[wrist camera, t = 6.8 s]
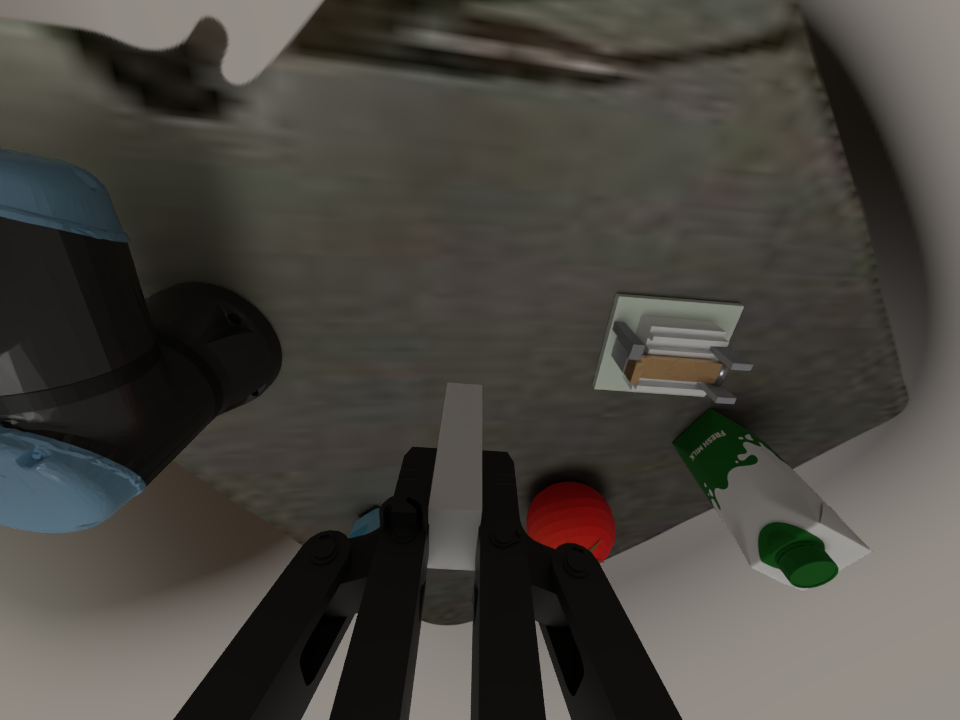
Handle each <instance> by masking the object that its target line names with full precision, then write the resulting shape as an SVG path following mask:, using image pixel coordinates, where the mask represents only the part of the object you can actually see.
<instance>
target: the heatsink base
mask: <svg viewBox="0 0 960 720" xmlns="http://www.w3.org/2000/svg"><path fill="white" fill-rule="evenodd" d="M743 308H744V306H743V305H741V304H739V303H730V302H717V301H705V300H692V299H679V298H667V297H654V296H642V295H629V294H617V293H616V296H615V300H614V304H613V308H612V311H611V315H610V319H609V323H608V327H607V330H606V334H605V338H604V342H603V346H602V349H601V353H600V357H599V361H598V365H597V368H596V372H595V376H594V380H593V384H592V385H593V387H594V389H601V390H615V391H630V392H644V393H658V394H672V395H686V396H700V397H705V395H706V394H707V395H708V396H709V397H710V398H711V399H712V400H713V401H714V402H715V403H725V404H734V403H735V401H736V399H737V398H736V397H735V396H733V395H732V394H731V393H730V392H729V391H728V390H727V389H726V388H725V387H724V386H723V385H722V386H714V385H712V384H710V383H699V382H686V381H672V380H658V379H645V378H639V381H638V384H635V383H630V382H629V381H628V379H627V378H626V376H625V375H624V371H625V367H626V364H627V361H628V359H632V360H640V359H641V356H642V355H653V356H667V357H680V358H693V359H707V360H720V361H721V362H722V363H724V364H725V365H726V366H727V367H728V368H729V369H731V370H745V371H751V369H752V367H753V364H752V363H750V362H749V361H748V360H746V359H745V358H744V357H742V356H741V355H740V354H738V353H737V352H736V351H734V350H733V349H732V348H731V347H729V346H728V344H729V340H730V338H731V335H732V333H733V331H734V329H735V326H736V324H737V322H738V319H739V317H740V315H741V313H742V310H743Z"/></svg>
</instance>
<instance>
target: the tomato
mask: <svg viewBox="0 0 960 720" xmlns="http://www.w3.org/2000/svg"><path fill="white" fill-rule="evenodd" d="M526 524H527V534H528V536H529V537H531V538H532V539H533V540H535V541H537V542H539V543H541V544H543V545H546V546H549V547H551V548H554V549H556V548H557V547H558V546H559V545H562V544H564V543H576V544H578V545H581V546H584V547H585V548H586V549H588V550H589V551H590V552H592V554H593V555H594V556H595V558H596V559H597V560H598V562H599V564H600V563H601V562H603V560H604V559H605V558H606V557H607V556H608V555H609V553H610V551H611V549H612V546H613V544H614V542H615V521H614V518H613V515H612V511H611V509H610V507H609V505H608V503H607V502H606V500H605V499H604V497H603V496H602V495H600V494H599V493H598V492H597V491H596V490H595V489H593V488H591V487H589V486H587V485H585V484H582V483H579V482H560V483H556V484H553V485H551V486H549V487H547V488H545V489H544V490H542V491H541V492H540V493H538V494H537V495H536V496H535V497H534V499H533V501H532V503H531V504H530V506H529V510H528V514H527V523H526Z"/></svg>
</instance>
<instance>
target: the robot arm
mask: <svg viewBox="0 0 960 720" xmlns="http://www.w3.org/2000/svg"><path fill="white" fill-rule="evenodd" d="M128 242H130V239H129V237H128V235H127V234H126V233H124V231H123V229H122V227H121V224H120V222H119V219H118V217H117V214H116V212H115V209H114V206H113V204H112V201H111V198H110V195H109V193H108V191H107V189H106V188H105V186H104V185H103V184H102V183H101V181H100V180H99V179H97V178H96V177H95V176H94V175H92V174H91V173H90V172H88V171H86V170H85V169H83V168H81V167H79V166H76V165H74V164H71V163H68V162H64V161H60V160H56V159H51V158H47V157H42V156H37V155H32V154H27V153H21V152H16V151H10V150H5V149H0V525H2V526H6V527H11V528H15V529H20V530H26V531H33V532H42V533H67V532H75V531H80V530H84V529H87V528H90V527H93V526H96V525H98V524H100V523H101V522H103V521H105V520H106V519H108V518H109V517H110V516H112V515H113V514H114V513H115V512H116V511H117V510H118V509H119V508H121V507H122V506H123V505H124V504H125V503H127V501H129V500H130V499H131V498H132V497H134V496H137V495H138V494H140V493H141V492H142V491H143V490H144V489H145V488H146V486H147V485H148V484H149V483H150V482H151V481H152V480H153V479H154V478H155V477H156V476H157V475H158V474H159V473H160V472H161V471H162V470H163V469H164V468H165V467H166V466H167V465H168V464H169V463H170V462H171V461H172V460H173V459H174V458H175V457H176V456H177V455H178V454H179V453H180V452H181V451H182V450H183V449H184V448H185V447H186V446H187V445H188V444H189V443H190V442H191V441H192V440H193V439H194V438H195V437H196V436H197V435H198V434H199V433H200V432H201V431H202V430H203V429H204V428H205V427H206V426H207V425H208V424H209V423H210V422H211V421H212V420H213V419H214V418H215V417H216V416H218V415H221V414H223V413H225V412H228V411H230V410H232V409H234V408H237V407H239V406H241V405H244V404H246V403H248V402H250V401H252V400H254V399H256V398H257V397H259V396H260V395H261V394H262V393H263V392H264V391H265V390H266V389H267V388H268V387H269V386H270V385H271V384H272V383H273V382H274V380H275V379H276V377H277V375H278V373H279V370H280V367H281V350H280V345H279V342H278V339H277V337H276V335H275V333H274V331H273V329H272V327H271V326H270V324H269V323H268V322H267V320H266V319H265V318H264V317H263V315H262V314H261V313H260V312H259V311H258V310H257V309H256V308H255V307H253V306H252V305H251V304H250V303H248V302H247V301H246V300H244V299H243V298H241V297H240V296H238V295H236V294H234V293H232V292H230V291H228V290H226V289H223V288H221V287H217V286H214V285H210V284H205V283H182V284H177V285H174V286H171V287H169V288H166V289H164V290H162V291H159V292H157V293H155V294H153V295H152V296H150V297H149V298H147V299H146V300H145V299H144V296H143V293H142V289H141V286H140V283H139V279H138V276H137V273H136V269H135V266H134V262H133V259H132V256H131V252H130V249H129V246H128ZM379 519H380V527H379V528H378V529H376V530H374V531H372V532H370V533H367V534H364V535H361V536H356V537H352V538H347V536H346V535H345V534H343V533H341V532H339V531H332V530H329V531H324V532H320V533H318V534H316V535H315V536H313V537H311V538H310V539H309V540H308V541H307V542H306V543H305V544H304V545H303V546H302V547H301V548H300V550H299V551H298V553H297V554H296V555H295V557H294V558H293V559H292V561H291V562H290V563H289V565H288V566H287V567H286V569H285V570H284V571H283V573H282V574H281V575H280V577H279V578H278V579H277V581H276V582H275V583H274V585H273V586H272V587H271V589H270V590H269V592H268V593H267V595H266V596H265V597H264V598H263V600H262V601H261V602H260V604H259V605H258V606H257V608H256V609H255V610H254V612H253V613H252V614H251V616H250V617H249V618H248V620H247V621H246V623H245V624H244V625H243V626H242V628H241V629H240V630H239V632H238V633H237V635H236V636H235V637H234V639H233V640H232V641H231V643H230V644H229V645H228V647H227V648H226V649H225V651H224V652H223V653H222V655H221V656H220V657H219V659H218V660H217V661H216V663H215V664H214V666H213V667H212V668H211V669H210V671H209V672H208V674H207V675H206V677H205V678H204V679H203V680H202V682H201V683H200V684H199V686H198V687H197V688H196V690H195V691H194V692H193V694H192V695H191V697H190V698H189V699H188V701H187V702H186V703H185V705H184V706H183V707H182V709H181V710H180V711H179V713H178V714H177V715H176V717H175V718H174V719H173V720H301V718H302V717H303V715H304V713H305V711H306V709H307V707H308V705H309V703H310V701H311V699H312V697H313V695H314V693H315V691H316V689H317V687H318V685H319V683H320V681H321V679H322V677H323V676H324V674H325V672H326V670H327V668H328V666H329V664H330V662H331V660H332V658H333V656H334V654H335V652H336V650H337V648H338V646H339V644H340V642H341V640H342V638H343V636H344V634H345V632H346V631H347V629H348V627H349V624H350V623H351V621H352V619H353V617H354V615H355V614H356V613H358V616H357V619H356V623H355V626H354V630H353V634H352V637H351V641H350V645H349V649H348V652H347V656H346V660H345V663H344V667H343V671H342V674H341V678H340V682H339V685H338V689H337V693H336V696H335V700H334V704H333V708H332V711H331V715H330V719H329V720H409V713H410V705H411V698H412V690H413V682H414V674H415V666H416V659H417V651H418V643H419V635H420V628H421V620H422V612H423V604H424V597H425V589H426V573H427V568H437V569H456V570H475V582H474V590H473V598H472V604H473V636H472V640H473V641H472V683H471V720H546V715H545V707H544V698H543V689H542V681H541V671H540V662H539V653H538V644H537V635H536V626H535V620H536V621H538V622H539V625H540V628H541V631H542V634H543V637H544V640H545V643H546V646H547V649H548V651H549V655H550V657H551V661H552V663H553V666H554V669H555V672H556V675H557V678H558V681H559V684H560V687H561V690H562V693H563V696H564V699H565V702H566V705H567V708H568V711H569V714H570V717H571V720H682V718H681V716H680V714H679V712H678V711H677V709H676V707H675V705H674V703H673V701H672V699H671V697H670V695H669V694H668V692H667V690H666V688H665V686H664V685H663V683H662V680H661V679H660V677H659V675H658V673H657V671H656V669H655V667H654V665H653V664H652V662H651V660H650V658H649V656H648V654H647V653H646V650H645V649H644V647H643V645H642V643H641V641H640V639H639V637H638V635H637V633H636V632H635V630H634V628H633V626H632V624H631V622H630V620H629V618H628V617H627V615H626V613H625V611H624V609H623V607H622V605H621V604H620V602H619V600H618V598H617V596H616V594H615V592H614V590H613V589H612V587H611V585H610V583H609V581H608V579H607V577H606V575H605V573H604V571H603V570H602V568H601V566H600V564H599V562H598V560H597V559H596V558H595V556H594V555H593V554H592V552H590V551H589V550H588V549H586V548H585V547H584V546H581V545H578V544H576V543H564V544H562V545H559V546H558V547H557V548H556V549H554V548H551V547H549V546H546V545H543V544H541V543H539V542H537V541H535V540H533V539H532V538H531V537H529V536H528V534H527V533H526V532H525V531H524V529H523V527H522V526H521V522H520V516H519V507H518V497H517V488H516V478H515V469H514V462H513V460H512V459H511V457H510V456H509V454H508V452H499V451H484V450H482V385H473V384H459V383H447V390H446V396H445V403H444V409H443V416H442V422H441V429H440V435H439V442H438V448H424V447H412V448H411V449H410V450H409V451H408V452H407V454H406V455H405V456H404V459H403V463H402V466H401V470H400V474H399V479H398V482H397V485H396V489H395V493H394V496H393V497H390V498H389V499H388V500H386V501H385V502H384V503H383V504H382V506H381V508H380V510H379Z"/></svg>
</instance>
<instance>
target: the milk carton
mask: <svg viewBox="0 0 960 720" xmlns="http://www.w3.org/2000/svg"><path fill="white" fill-rule="evenodd" d="M672 443H673V445H674V447H675V448H676V450H677V451H678V453H679V455H680V456H681V458H682V459H683V461H684V463H685V464H686V466H687V467H688V469H689V470H690V472H691V474H692V475H693V477H694V478H695V480H696V481H697V483H698V484H699V486H700V487H701V489H702V490H703V492H704V493H705V495H706V496H707V498H708V499H709V501H710V502H711V504H712V505H713V507H714V508H715V510H716V511H717V513H718V514H719V516H720V517H721V518H722V520H723V522H724V523H725V524H726V526H727V527H728V529H729V530H730V532H731V533H732V535H733V536H734V538H735V539H736V541H737V543H738V545H739V546H740V548H741V550H742V552H743V554H744V556H745V557H746V559H747V561H748V563H749V565H750V566H751V568H753V569H755V570H757V571H759V572H761V573H763V574H765V575H767V576H769V577H772V578H773V579H775V580H778V581H779V582H781V583H782V584H785V585H790V586H793V587H795V588H797V589H799V590H801V591H805V590H807V589H808V588H812V587H817V586H821V585H823V584H825V583H827V582H829V581H831V580H832V579H833V578H834V577H835V576H836V575H837V573H838V571H840V570H841V569H843V568H845V567H847V566H848V565H850V564H852V563H854V562H855V561H857V560H859V559H860V558H862V557H864V556H866V555H867V554H869V553H871V552H872V550H871V549H870V548H869V547H868V546H867V545H866V544H865V543H864V542H863V541H862V540H861V539H860V538H859V537H858V536H857V535H856V534H855V533H854V532H853V531H852V530H851V529H850V528H849V527H848V526H847V525H846V524H845V523H844V522H843V521H842V519H841V518H840V517H839V516H838V515H837V513H836V512H835V511H834V510H833V509H832V508H831V507H830V506H828V505H827V504H826V503H825V502H824V501H823V500H822V499H821V497H820V496H819V495H818V494H817V493H816V492H815V491H814V490H813V489H812V488H811V487H810V486H809V485H808V484H807V483H806V482H805V481H804V480H803V479H801V477H800V476H799V475H798V474H797V473H795V471H794V470H793V469H792V468H791V467H790V466H789V465H788V464H787V463H786V462H785V461H784V460H783V459H782V458H781V457H780V456H779V455H777V454H776V453H775V452H774V451H773V450H772V449H771V448H770V447H769V446H768V445H767V444H766V443H765V442H763V441H762V440H761V439H759V438H758V437H757V436H755V435H754V434H752V433H751V432H750V431H748V430H747V429H745V428H744V427H742V426H740V425H739V424H737V423H735V422H734V421H732V420H730V419H728V418H727V417H725V416H723V415H722V414H720V413H718V412H717V411H715V410H713V409H711V408H709V409H708V410H707V411H706V412H705V413H704V414H703V415H702V416H701V417H700V418H699V419H698V420H696V421H695V422H694V423H693V424H692V425H691V426H690V427H689V428H688V429H687V430H686V431H684V432H683V433H682V434H681V435H680V436H679V437H678V438H677V439H676V440H675V441H674V442H672Z"/></svg>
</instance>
